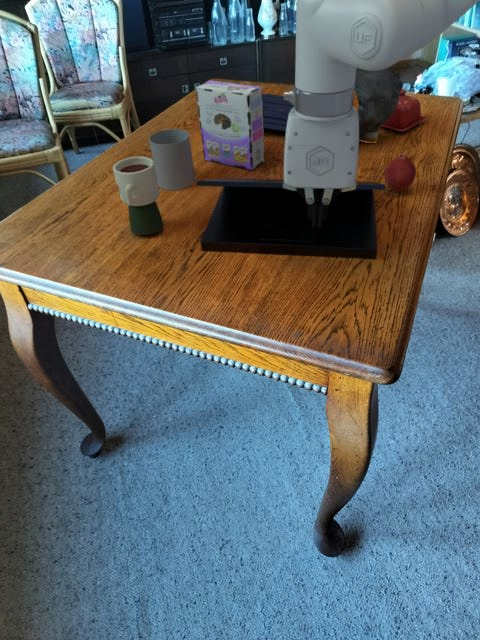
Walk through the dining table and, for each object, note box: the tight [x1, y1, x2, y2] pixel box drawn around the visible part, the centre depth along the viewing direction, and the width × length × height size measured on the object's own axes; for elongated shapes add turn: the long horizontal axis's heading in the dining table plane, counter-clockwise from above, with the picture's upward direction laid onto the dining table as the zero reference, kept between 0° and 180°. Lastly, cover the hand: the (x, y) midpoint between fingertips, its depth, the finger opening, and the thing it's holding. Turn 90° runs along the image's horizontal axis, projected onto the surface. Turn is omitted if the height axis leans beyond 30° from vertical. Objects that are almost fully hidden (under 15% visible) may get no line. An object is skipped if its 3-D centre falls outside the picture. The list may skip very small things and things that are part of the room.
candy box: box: [194, 79, 265, 171], centre depth 104 cm, size 14×6×16 cm, turn 57°
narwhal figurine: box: [354, 65, 404, 142], centre depth 106 cm, size 14×15×18 cm
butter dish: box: [380, 88, 427, 133], centre depth 117 cm, size 12×12×8 cm
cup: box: [148, 128, 196, 192], centre depth 100 cm, size 8×8×10 cm
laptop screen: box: [195, 177, 387, 191], centre depth 84 cm, size 22×30×1 cm
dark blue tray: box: [262, 93, 294, 132], centre depth 126 cm, size 24×30×4 cm
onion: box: [384, 152, 417, 193], centre depth 91 cm, size 6×6×8 cm
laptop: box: [200, 187, 379, 260], centre depth 87 cm, size 22×30×2 cm
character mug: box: [112, 155, 165, 236], centre depth 85 cm, size 11×7×13 cm, turn 173°
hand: (317, 223), depth 73 cm, fingers closed
